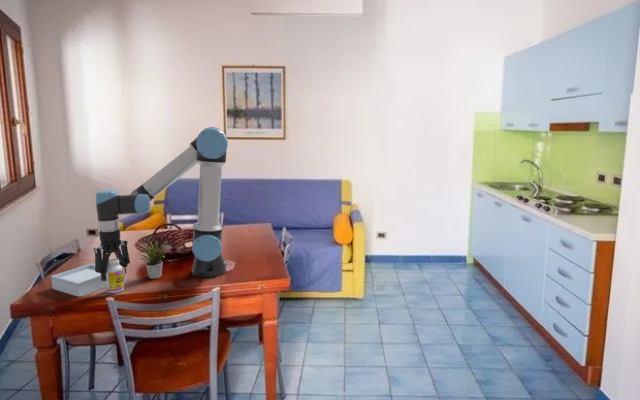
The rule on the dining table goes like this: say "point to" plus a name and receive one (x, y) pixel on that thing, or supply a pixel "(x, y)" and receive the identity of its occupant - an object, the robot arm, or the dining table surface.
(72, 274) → the shallow open tray
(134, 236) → the dining table surface
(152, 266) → the house plant
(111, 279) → the supplement bottle
